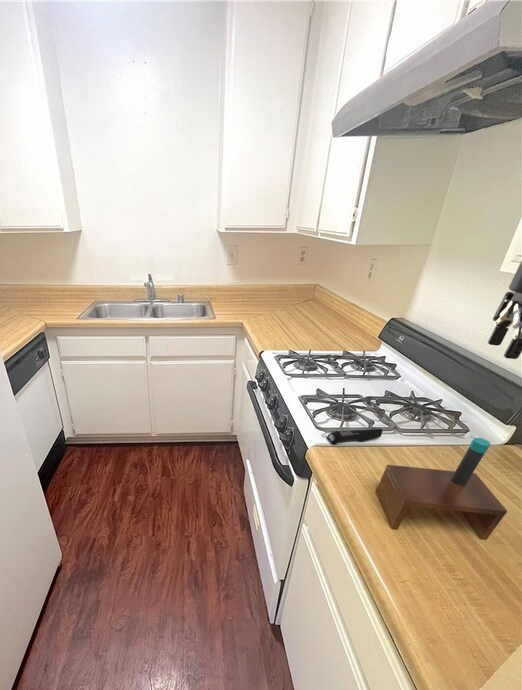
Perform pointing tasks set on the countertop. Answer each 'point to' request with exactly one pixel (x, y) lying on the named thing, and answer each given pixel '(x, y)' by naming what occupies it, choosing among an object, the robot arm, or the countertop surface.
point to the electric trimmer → (353, 435)
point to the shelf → (438, 496)
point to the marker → (470, 461)
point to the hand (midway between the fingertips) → (501, 351)
